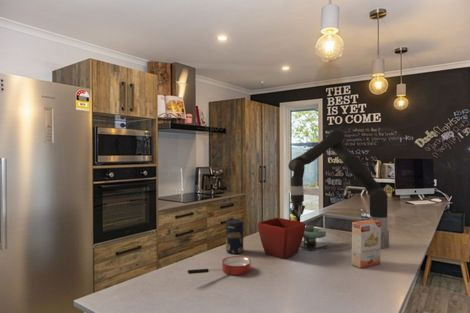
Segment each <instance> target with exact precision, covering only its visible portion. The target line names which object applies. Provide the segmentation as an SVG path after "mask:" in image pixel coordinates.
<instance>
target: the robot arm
mask: <svg viewBox="0 0 470 313" xmlns="http://www.w3.org/2000/svg"><path fill="white" fill-rule="evenodd" d="M345 138H346V136H345V133H344V131H343V130H341V129H337V128H336V129H333V130H331V131H330V132H329V133H328V135H327V136H326V137H324V139H322V140H321V141H320V142H318V143H317V144H315V145H314V146H312V147H311V148H310V149H308V150H307V151H305V152H304V153H302V154H301V155H298V156H296V157H295V158H292V159H291V160H290V161H289V163H288V167H287V168H288V169H289V170H290V172H293V173H292V175H293V176H292V175H291V177H290V201H291V203H292V207H291V208H289V210H290V212H291V214H292V217H296V218H297V221H299V222H301V216H302V215H303V214H304V211H305V208H306V205H303V204H304V203H303V202H305V196H304V194H305V193H304V192H305V191H304V180H303V179H304V174H305V170H306V169H305V166H306V165H310V164H311V163H313V162H314V161H315V160H318V158H319V157H321V156H322V155H323V154H325V152H326V151H328V150H330V149H331V150H332V151H333V152H334V153H335V155H336V156H338V159H340V160H341V162H342V163H343V165H344V166H345V167H346V169H347V170H348V171H349V172H350V174H351V175H352V176H353V178H355V180H357V181H358V182H359V183H360V184H361V185H362V186H363V187H364V189H365V190H366V192H367V193H368V195H369V220H376V221H380V222H381V249H386V248H388V247H390V230H389V229H388V193H387V191H386V190H385V189H384V188H383V187H382V186H381V185H380V184H379V183H378V182H377V181H376V180H375V178H374V177H373V175H372V173H371V172H370V171H369V169H368V167H367V166H366V164H365V163H364V162H363V161H362V159H361V158H360V157H358V156H357V155H356V154H354V153H353V152H351V151H350V150H348V148H346V146H345V145H344V144H343V142H344V141H345Z"/></svg>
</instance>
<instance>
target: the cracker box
mask: <svg viewBox="0 0 470 313" xmlns="http://www.w3.org/2000/svg"><path fill="white" fill-rule="evenodd" d="M381 249H382V248H381V222H380V221H376V220H370V219H366V220H359V221H352V222H351V265H352V266H354V267H356V268H359V269H363V268H367V267H372V266H377V265H380V264H381Z"/></svg>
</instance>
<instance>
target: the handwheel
mask: <svg viewBox="0 0 470 313" xmlns="http://www.w3.org/2000/svg"><path fill="white" fill-rule="evenodd" d="M290 218H291V219H290V220H293V221H297V218H296V217H295V216H291V217H290ZM326 236H327V231H326V230H324V229H322V228H318V227H314V225H313V224H306V226H305V231H304V235H303V239H304V238H316V239H321V238H322V239H323V238H325V237H326Z"/></svg>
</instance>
